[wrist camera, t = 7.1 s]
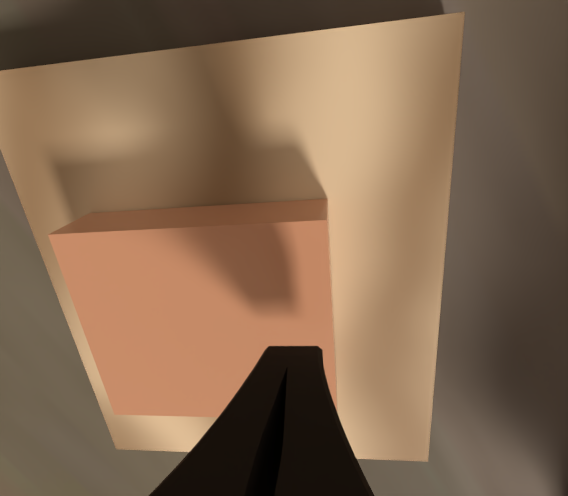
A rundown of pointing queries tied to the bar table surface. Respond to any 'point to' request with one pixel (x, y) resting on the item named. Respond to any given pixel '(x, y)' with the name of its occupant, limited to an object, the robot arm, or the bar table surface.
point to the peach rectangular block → (197, 298)
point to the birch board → (269, 186)
